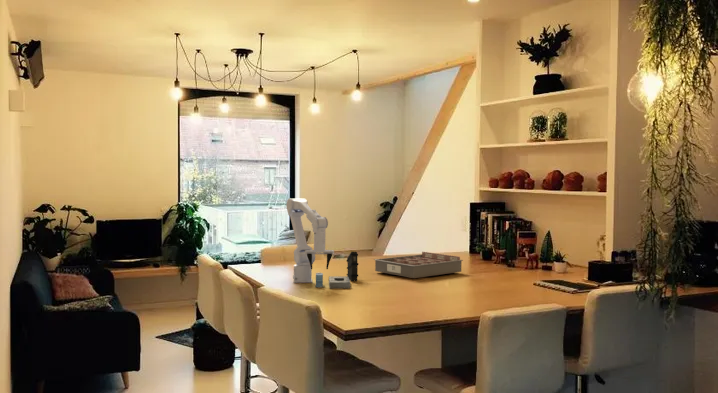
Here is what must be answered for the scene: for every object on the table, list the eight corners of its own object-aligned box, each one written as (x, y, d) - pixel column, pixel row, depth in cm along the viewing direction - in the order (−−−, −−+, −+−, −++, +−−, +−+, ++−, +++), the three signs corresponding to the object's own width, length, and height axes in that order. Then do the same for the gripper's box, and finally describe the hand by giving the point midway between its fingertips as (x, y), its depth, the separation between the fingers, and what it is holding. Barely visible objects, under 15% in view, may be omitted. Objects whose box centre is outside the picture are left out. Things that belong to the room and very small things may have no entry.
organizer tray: (373, 273, 345) (373, 256, 344) (422, 267, 370) (422, 251, 370) (413, 281, 320) (413, 262, 320) (463, 274, 346) (463, 256, 346)
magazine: (352, 279, 312) (350, 251, 318) (346, 286, 324) (345, 259, 330) (359, 279, 313) (357, 251, 319) (353, 286, 325) (352, 259, 331)
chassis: (329, 288, 295) (329, 282, 295) (328, 282, 313) (328, 276, 313) (350, 288, 295) (350, 282, 295) (348, 282, 313) (348, 276, 313)
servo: (315, 287, 296) (315, 274, 296) (315, 284, 306) (315, 271, 306) (322, 287, 296) (322, 274, 296) (322, 284, 307) (322, 271, 306)
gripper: (304, 242, 296) (304, 270, 296) (334, 242, 297) (334, 270, 298) (305, 240, 303) (304, 268, 304) (334, 241, 304) (333, 268, 305)
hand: (319, 269), depth 301 cm, fingers open, 7 cm apart
